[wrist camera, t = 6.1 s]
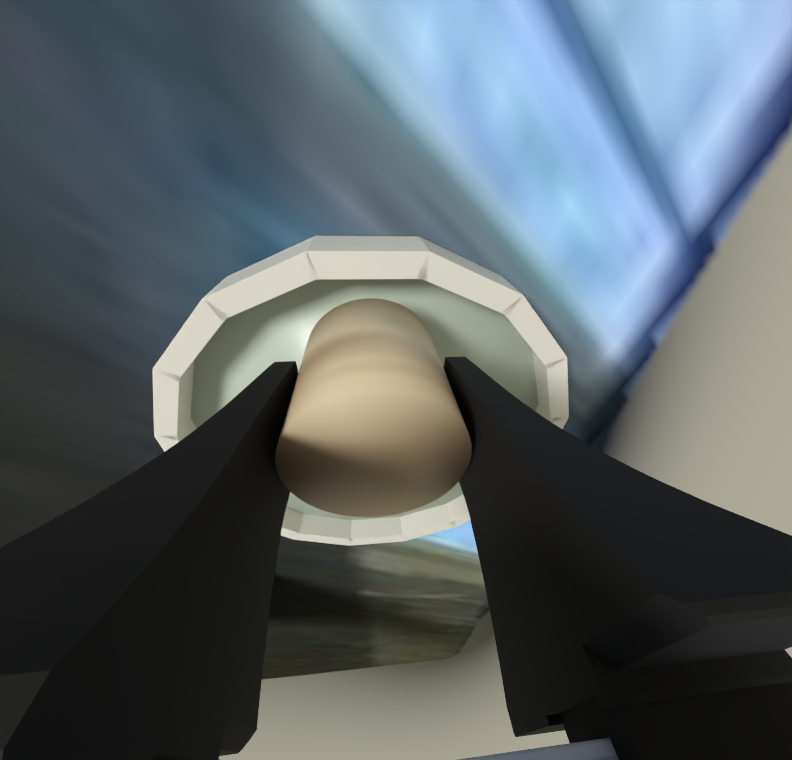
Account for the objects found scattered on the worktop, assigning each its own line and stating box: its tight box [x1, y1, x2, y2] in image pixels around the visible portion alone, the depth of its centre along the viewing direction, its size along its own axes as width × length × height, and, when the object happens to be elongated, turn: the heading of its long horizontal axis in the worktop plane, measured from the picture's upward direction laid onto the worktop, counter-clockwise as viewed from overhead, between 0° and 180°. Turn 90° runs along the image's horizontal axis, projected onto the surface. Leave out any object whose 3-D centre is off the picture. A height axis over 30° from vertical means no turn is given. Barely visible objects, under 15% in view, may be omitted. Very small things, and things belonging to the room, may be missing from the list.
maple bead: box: [275, 298, 472, 517], centre depth 9 cm, size 4×4×4 cm
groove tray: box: [153, 236, 569, 546], centre depth 15 cm, size 18×18×2 cm
